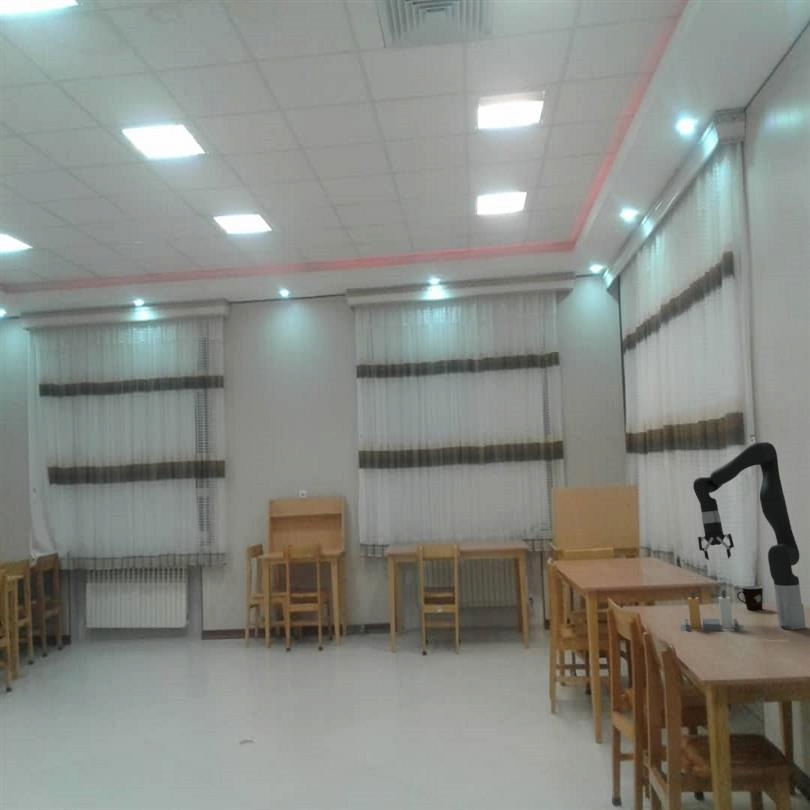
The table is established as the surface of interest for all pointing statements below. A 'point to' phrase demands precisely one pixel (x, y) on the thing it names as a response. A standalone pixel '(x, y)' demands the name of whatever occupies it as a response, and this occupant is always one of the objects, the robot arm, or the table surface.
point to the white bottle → (725, 611)
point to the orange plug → (694, 611)
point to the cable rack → (712, 626)
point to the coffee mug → (752, 597)
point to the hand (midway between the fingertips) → (718, 559)
